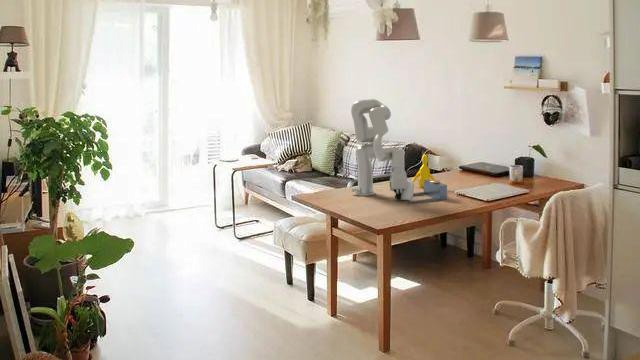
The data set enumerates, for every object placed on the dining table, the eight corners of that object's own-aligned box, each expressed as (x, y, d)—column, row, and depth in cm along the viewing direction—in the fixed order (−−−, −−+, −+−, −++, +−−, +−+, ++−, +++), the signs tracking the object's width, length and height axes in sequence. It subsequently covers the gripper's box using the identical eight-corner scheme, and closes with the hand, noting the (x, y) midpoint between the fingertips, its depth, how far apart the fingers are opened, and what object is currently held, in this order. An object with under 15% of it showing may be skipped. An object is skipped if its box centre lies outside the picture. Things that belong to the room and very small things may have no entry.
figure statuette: (435, 185, 393) (436, 153, 389) (438, 187, 386) (439, 154, 381) (409, 186, 393) (409, 154, 388) (412, 188, 385) (412, 155, 381)
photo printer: (413, 200, 353) (415, 180, 353) (410, 200, 349) (412, 179, 349) (398, 199, 358) (400, 179, 358) (395, 198, 355) (397, 178, 355)
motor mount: (409, 204, 344) (409, 187, 342) (394, 197, 362) (394, 182, 360) (447, 199, 353) (447, 183, 351) (431, 193, 370) (431, 177, 368)
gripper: (389, 172, 342) (389, 202, 346) (412, 169, 347) (412, 199, 351) (384, 169, 349) (384, 199, 353) (406, 167, 354) (406, 197, 358)
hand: (398, 199), depth 352 cm, fingers closed
